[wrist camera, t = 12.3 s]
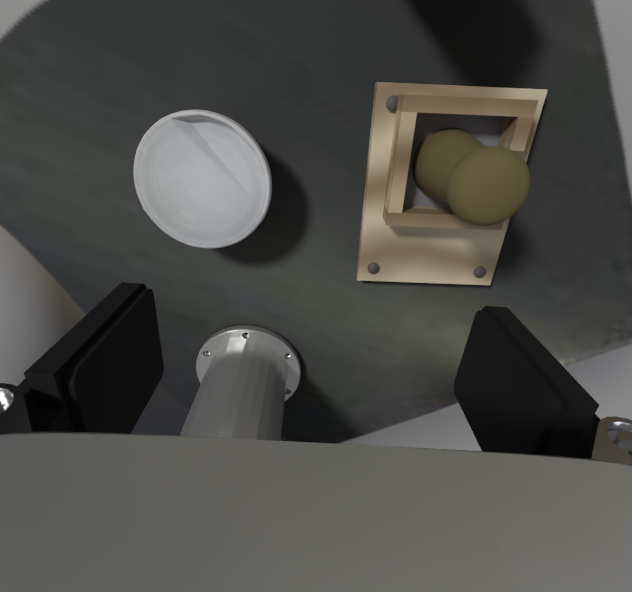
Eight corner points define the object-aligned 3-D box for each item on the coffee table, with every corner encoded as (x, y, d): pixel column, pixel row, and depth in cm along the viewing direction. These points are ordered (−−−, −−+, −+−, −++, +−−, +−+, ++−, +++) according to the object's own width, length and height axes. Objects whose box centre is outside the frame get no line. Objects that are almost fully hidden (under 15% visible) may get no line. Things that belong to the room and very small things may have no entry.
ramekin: (289, 129, 33) (285, 135, 29) (263, 243, 38) (255, 263, 34) (162, 89, 32) (136, 89, 27) (152, 213, 37) (129, 230, 32)
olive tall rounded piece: (398, 162, 33) (430, 191, 24) (455, 110, 31) (517, 118, 22) (436, 211, 35) (481, 256, 26) (493, 165, 33) (564, 195, 24)
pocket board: (485, 280, 40) (500, 296, 37) (356, 275, 40) (359, 291, 37) (540, 89, 32) (565, 89, 28) (375, 82, 31) (382, 81, 28)
